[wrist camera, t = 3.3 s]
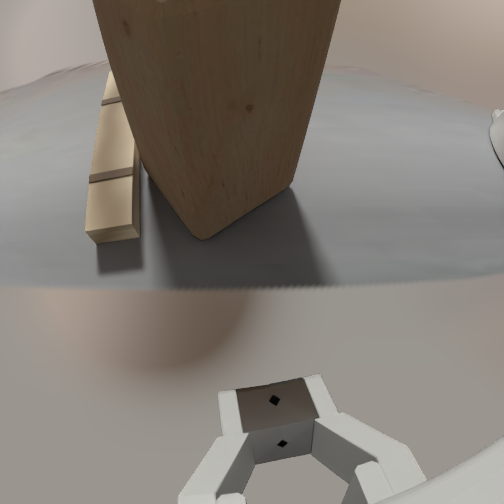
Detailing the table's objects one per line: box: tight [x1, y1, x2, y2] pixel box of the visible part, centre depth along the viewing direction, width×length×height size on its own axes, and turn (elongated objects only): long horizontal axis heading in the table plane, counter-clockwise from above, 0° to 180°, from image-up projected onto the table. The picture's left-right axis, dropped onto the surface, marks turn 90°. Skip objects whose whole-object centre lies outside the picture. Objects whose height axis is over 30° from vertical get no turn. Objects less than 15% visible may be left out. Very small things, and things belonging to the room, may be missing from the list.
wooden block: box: [93, 0, 341, 240], centre depth 19 cm, size 10×10×20 cm
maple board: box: [85, 71, 140, 244], centre depth 28 cm, size 4×21×3 cm, turn 10°
